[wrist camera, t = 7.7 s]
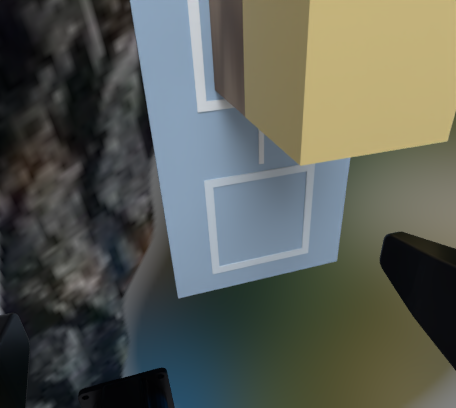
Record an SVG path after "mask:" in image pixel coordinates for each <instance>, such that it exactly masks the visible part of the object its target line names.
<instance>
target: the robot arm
mask: <svg viewBox="0 0 456 408" xmlns="http://www.w3.org/2000/svg"><path fill="white" fill-rule="evenodd" d="M380 264H381V267H382V269H383V271H384V272H385V274H386V275H387V277H388V278H389V280H390V281H391V283H392V284H393V286H394V288H395V289H396V291H397V292H398V294H399V296H400V297H401V299H402V300H403V302H404V303H405V305H406V306H407V308H408V309H409V311H410V312H411V314H412V315H413V317H414V318H415V319H416V320H417V322H418V323H419V324H420V326H421V327H422V328H423V330H424V331H425V332H426V333H427V335H428V336H429V337H430V338H431V340H432V341H433V342H434V343H435V345H436V346H437V347H438V349H439V350H440V351H441V352H442V354H443V355H444V356H445V357H446V359H447V360H448V361H449V363H450V364H451V365H452V366H453V368H454V369H455V370H456V249H455V248H451V247H448V246H445V245H442V244H439V243H436V242H433V241H430V240H426V239H423V238H420V237H417V236H414V235H410V234H408V233H404V232H395V233H390V234H387V235H386V236H385V237H384V240H383V245H382V250H381V255H380ZM29 354H30V345H29V340H28V337H27V335H26V332H25V330H24V328H23V325H22V323H21V321H20V318H19V316H18V315H17V314H15V313H9V314H4V315H0V408H25V406H26V393H27V380H28V367H29ZM78 400H79V402H80V404H81V407H82V408H174V403H173V398H172V393H171V388H170V384H169V379H168V375H167V370H166V369H165V368H158V369H154V370H150V371H147V372H143V373H139V374H136V375H132V376H128V377H125V378H121V379H117V380H114V381H110V382H106V383H103V384H99V385H95V386H92V387H88V388H84V389H82V390H80V391H79V395H78Z"/></svg>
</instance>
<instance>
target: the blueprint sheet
mask: <svg viewBox="0 0 456 408" xmlns="http://www.w3.org/2000/svg"><path fill="white" fill-rule="evenodd" d="M130 5H131V11H132V17H133V24H134V30H135V36H136V42H137V48H138V54H139V61H140V67H141V73H142V79H143V85H144V91H145V98H146V104H147V110H148V116H149V122H150V128H151V135H152V141H153V147H154V153H155V159H156V165H157V172H158V177H159V184H160V190H161V196H162V202H163V209H164V215H165V221H166V227H167V233H168V239H169V245H170V251H171V257H172V264H173V270H174V276H175V282H176V289H177V294H178V298H182V297H187V296H191V295H195V294H199V293H204V292H208V291H212V290H216V289H221V288H225V287H229V286H233V285H237V284H242V283H246V282H250V281H254V280H259V279H263V278H267V277H272V276H275V275H280V274H284V273H289V272H293V271H297V270H301V269H306V268H310V267H314V266H318V265H323V264H327V263H330V262H335V261H337V256H338V248H339V240H340V232H341V223H342V217H343V209H344V201H345V194H346V186H347V179H348V171H349V163H350V158H344V159H338V160H332V161H326V162H320V163H314V164H308V165H302V166H300V165H299V164H298V163H296V162H295V161H294V160H293V159H292V158H291V157H290V156H289V155H287V154H286V153H285V152H284V151H283V150H282V149H281V148H279V147H278V146H277V145H276V144H275V143H274V142H273V141H271V140H270V139H269V138H268V137H267V136H266V135H265V134H264V133H262V132H261V131H260V130H259V129H258V128H257V127H256V126H254V125H253V124H252V123H251V122H250V121H249V120H248V119H247V118H245V116H244V115H243V114H241V113H240V112H239V111H238V110H237V109H236V108H235V107H233V106H232V105H231V104H230V103H229V102H228V101H227V100H225V99H224V98H223V97H222V96H221V95H220V94H219V93H217V92H216V91H215V86H214V71H213V56H212V41H211V26H210V10H209V0H130Z"/></svg>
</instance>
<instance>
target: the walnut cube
mask: <svg viewBox="0 0 456 408" xmlns="http://www.w3.org/2000/svg"><path fill="white" fill-rule="evenodd" d="M209 10H210V26H211V41H212V56H213V71H214V86H215V91H216V92H217V93H219V94H220V95H221V96H222V97H223V98H224V99H225V100H227V101H228V102H229V103H230V104H231V105H232V106H233V107H235V108H236V109H237V110H238V111H239V112H240V113H241V114H243V115H244V116H245V89H244V46H243V2H242V0H209Z"/></svg>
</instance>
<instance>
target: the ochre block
mask: <svg viewBox="0 0 456 408" xmlns="http://www.w3.org/2000/svg"><path fill="white" fill-rule="evenodd" d="M242 2H243V46H244V89H245V118H247V119H248V120H249V121H250V122H251V123H252V124H253V125H254V126H256V127H257V128H258V129H259V130H260V131H261V132H262V133H264V134H265V135H266V136H267V137H268V138H269V139H270V140H271V141H273V142H274V143H275V144H276V145H277V146H278V147H279V148H281V149H282V150H283V151H284V152H285V153H286V154H287V155H289V156H290V157H291V158H292V159H293V160H294V161H295V162H296V163H298V164H299V165H300V166H302V165H308V164H314V163H320V162H326V161H332V160H338V159H344V158H350V157H356V156H362V155H368V154H373V153H380V152H386V151H392V150H398V149H404V148H410V147H416V146H421V145H428V144H433V143H440V142H445V141H448V137H449V133H450V130H451V126H452V122H453V118H454V115H455V111H456V0H242Z"/></svg>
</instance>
